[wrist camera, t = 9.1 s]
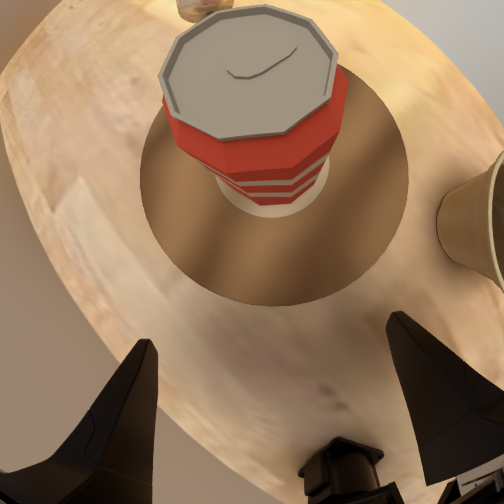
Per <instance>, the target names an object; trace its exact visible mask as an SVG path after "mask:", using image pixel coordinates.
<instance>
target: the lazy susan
mask: <svg viewBox="0 0 504 504" xmlns="http://www.w3.org/2000/svg"><path fill="white" fill-rule="evenodd" d="M338 66H339V67H340V69H341V70H342V72H343V73H344V75H345V76H346V78H347V80H348V88H347V94H346V100H345V106H344V112H343V118H342V123H341V129H340V132H339V134H338V136H337V138H336V140H335V142H334V144H333V146H332V149H331V151H330V153H329V155H328V157H327V159H326V161H325V163H324V165H323V167H322V169H321V171H320V173H319V175H318V177H317V180H316V182H315V184H314V185H313V186H312V187H311V188H309V189H308V190H307V191H306V192H304V193H303V194H302V195H301V196H300V197H298V198H297V199H296V200H295V201H294V202H292V203H291V204H280V205H265V206H260V205H258V204H256V203H255V202H253V201H251V200H250V199H248V198H246V197H245V196H243V195H241V194H240V193H238V192H237V191H235V190H234V189H232V188H231V187H230V186H229V185H227V184H226V183H225V182H223V181H222V180H221V179H220V178H218V177H217V176H216V175H215V174H213V173H212V172H211V171H209V170H208V169H207V168H205V167H204V166H203V165H202V164H200V163H199V162H198V161H196V160H195V159H194V158H192V157H191V156H190V155H189V154H187V153H186V152H185V151H183V150H182V149H181V148H179V147H178V146H177V144H176V141H175V138H174V135H173V132H172V129H171V126H170V123H169V121H168V118H167V115H166V112H165V109H164V105H163V106H162V108H161V109H160V111H159V112H158V114H157V116H156V118H155V119H154V121H153V123H152V125H151V128H150V130H149V133H148V135H147V138H146V141H145V145H144V149H143V153H142V159H141V167H140V189H141V197H142V203H143V207H144V211H145V214H146V218H147V220H148V223H149V225H150V228H151V230H152V232H153V234H154V236H155V238H156V239H157V241H158V243H159V245H160V246H161V248H162V249H163V251H164V252H165V253H166V254H167V256H168V257H169V258H170V259H171V261H172V262H173V263H174V264H175V265H176V266H177V267H178V268H179V269H180V270H181V271H182V272H183V273H184V274H186V275H187V276H188V277H189V278H191V279H192V280H194V281H195V282H196V283H198V284H199V285H201V286H202V287H204V288H206V289H208V290H210V291H212V292H214V293H215V294H218V295H220V296H223V297H226V298H228V299H231V300H234V301H238V302H242V303H247V304H251V305H260V306H291V305H296V304H302V303H307V302H311V301H314V300H317V299H320V298H323V297H326V296H328V295H331V294H333V293H335V292H337V291H339V290H341V289H343V288H345V287H346V286H348V285H349V284H350V283H352V282H353V281H355V280H356V279H358V278H359V277H361V276H362V275H363V274H364V273H365V272H366V271H367V270H368V269H369V268H370V267H371V266H373V265H374V264H375V262H376V261H377V260H378V259H379V257H380V256H381V255H382V254H383V253H384V251H385V250H386V249H387V247H388V245H389V244H390V242H391V240H392V239H393V237H394V235H395V233H396V231H397V229H398V226H399V224H400V221H401V219H402V216H403V212H404V209H405V205H406V201H407V193H408V184H409V179H408V162H407V156H406V150H405V146H404V143H403V140H402V137H401V134H400V131H399V129H398V127H397V125H396V122H395V120H394V118H393V116H392V115H391V113H390V112H389V110H388V108H387V107H386V105H385V104H384V102H383V101H382V100H381V99H380V98H379V96H378V95H377V94H376V93H375V92H374V91H373V89H371V88H370V87H369V86H368V85H367V84H366V83H365V82H364V81H363V80H362V79H360V78H359V77H358V76H356V75H355V74H354V73H352V72H351V71H349V70H348V69H346V68H344V67H343V66H341V65H339V64H338Z"/></svg>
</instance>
